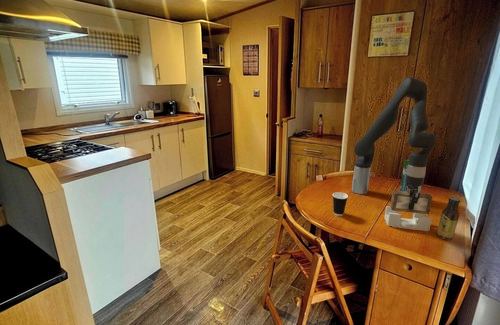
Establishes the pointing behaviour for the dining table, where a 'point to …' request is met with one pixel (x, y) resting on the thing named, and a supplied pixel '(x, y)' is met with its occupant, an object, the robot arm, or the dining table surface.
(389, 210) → the white notched block
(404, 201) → the grey tapered panel
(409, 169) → the robot arm
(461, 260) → the dining table surface
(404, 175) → the milk carton
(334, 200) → the dixie cup
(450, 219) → the sauce bottle
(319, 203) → the dining table surface
